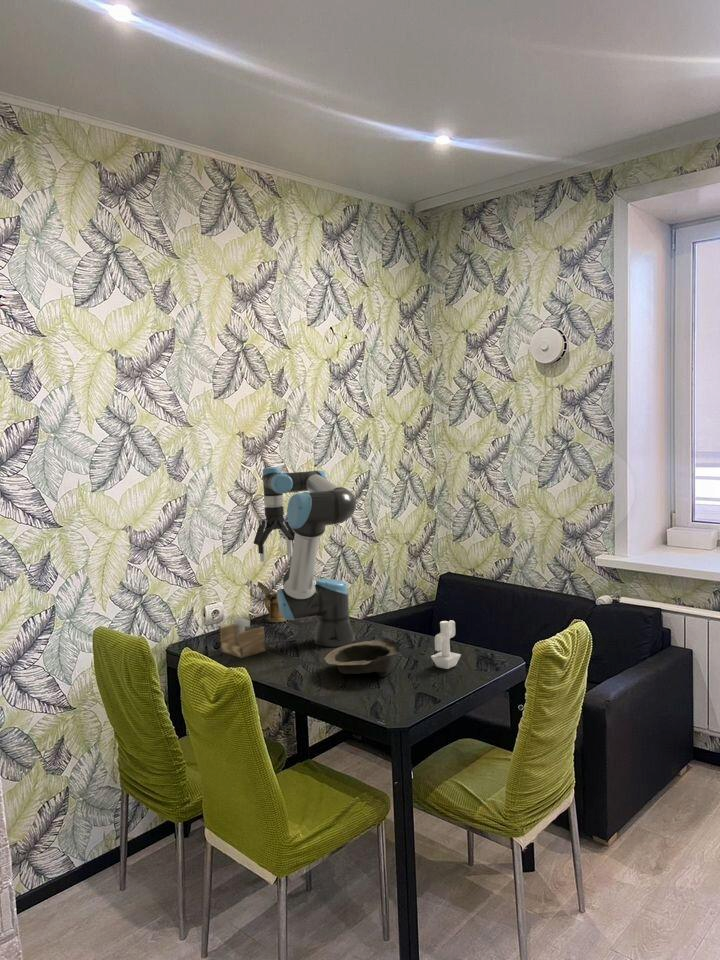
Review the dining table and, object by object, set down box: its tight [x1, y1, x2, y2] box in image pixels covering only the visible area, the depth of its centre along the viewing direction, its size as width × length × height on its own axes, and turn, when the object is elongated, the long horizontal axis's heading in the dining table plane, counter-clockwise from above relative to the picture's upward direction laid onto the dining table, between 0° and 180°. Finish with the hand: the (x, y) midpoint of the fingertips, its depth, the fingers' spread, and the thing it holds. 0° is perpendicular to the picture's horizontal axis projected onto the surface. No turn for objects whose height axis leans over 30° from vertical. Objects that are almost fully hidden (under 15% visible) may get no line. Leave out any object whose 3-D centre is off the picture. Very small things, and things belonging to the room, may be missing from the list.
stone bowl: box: [323, 637, 401, 678], centre depth 241 cm, size 25×25×9 cm
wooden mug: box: [257, 581, 288, 624], centre depth 309 cm, size 9×14×18 cm, turn 128°
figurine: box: [430, 619, 462, 670], centre depth 242 cm, size 7×9×15 cm
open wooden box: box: [219, 623, 266, 659], centre depth 269 cm, size 13×11×9 cm
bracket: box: [232, 617, 251, 647], centre depth 269 cm, size 7×6×11 cm
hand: (276, 558), depth 295 cm, fingers open, 13 cm apart
